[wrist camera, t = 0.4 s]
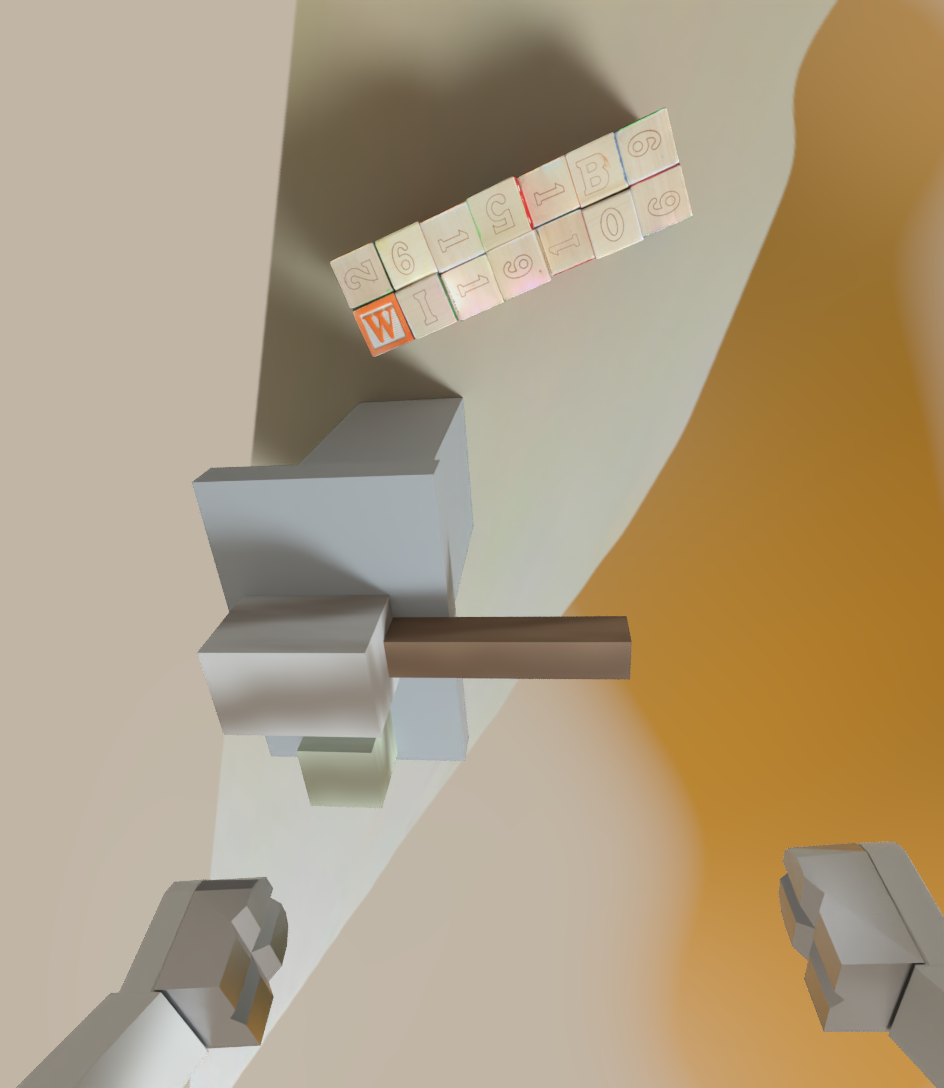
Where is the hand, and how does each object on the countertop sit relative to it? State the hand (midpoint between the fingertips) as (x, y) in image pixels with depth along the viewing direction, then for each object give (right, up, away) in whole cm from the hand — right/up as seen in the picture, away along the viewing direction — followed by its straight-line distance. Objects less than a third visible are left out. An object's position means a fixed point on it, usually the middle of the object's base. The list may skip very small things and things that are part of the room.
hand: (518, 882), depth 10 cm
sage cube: (-7, -5, +28) cm, 29 cm away
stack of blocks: (+3, +29, +39) cm, 48 cm away
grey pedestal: (-5, +12, +48) cm, 49 cm away
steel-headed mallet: (-3, +1, +24) cm, 24 cm away
